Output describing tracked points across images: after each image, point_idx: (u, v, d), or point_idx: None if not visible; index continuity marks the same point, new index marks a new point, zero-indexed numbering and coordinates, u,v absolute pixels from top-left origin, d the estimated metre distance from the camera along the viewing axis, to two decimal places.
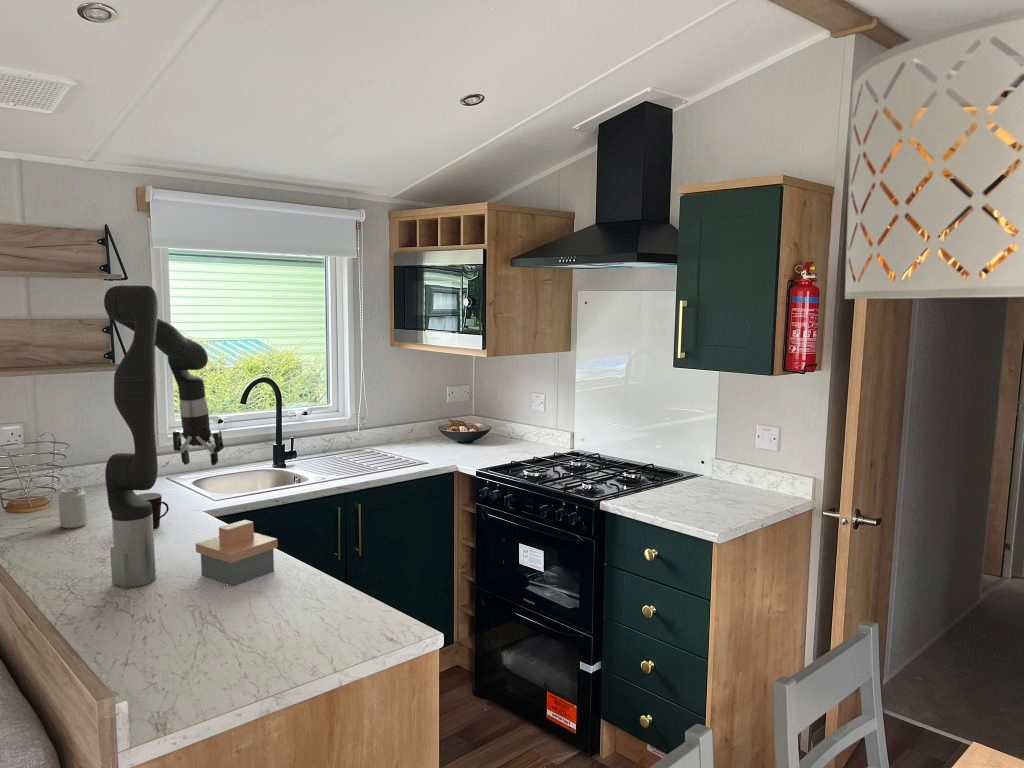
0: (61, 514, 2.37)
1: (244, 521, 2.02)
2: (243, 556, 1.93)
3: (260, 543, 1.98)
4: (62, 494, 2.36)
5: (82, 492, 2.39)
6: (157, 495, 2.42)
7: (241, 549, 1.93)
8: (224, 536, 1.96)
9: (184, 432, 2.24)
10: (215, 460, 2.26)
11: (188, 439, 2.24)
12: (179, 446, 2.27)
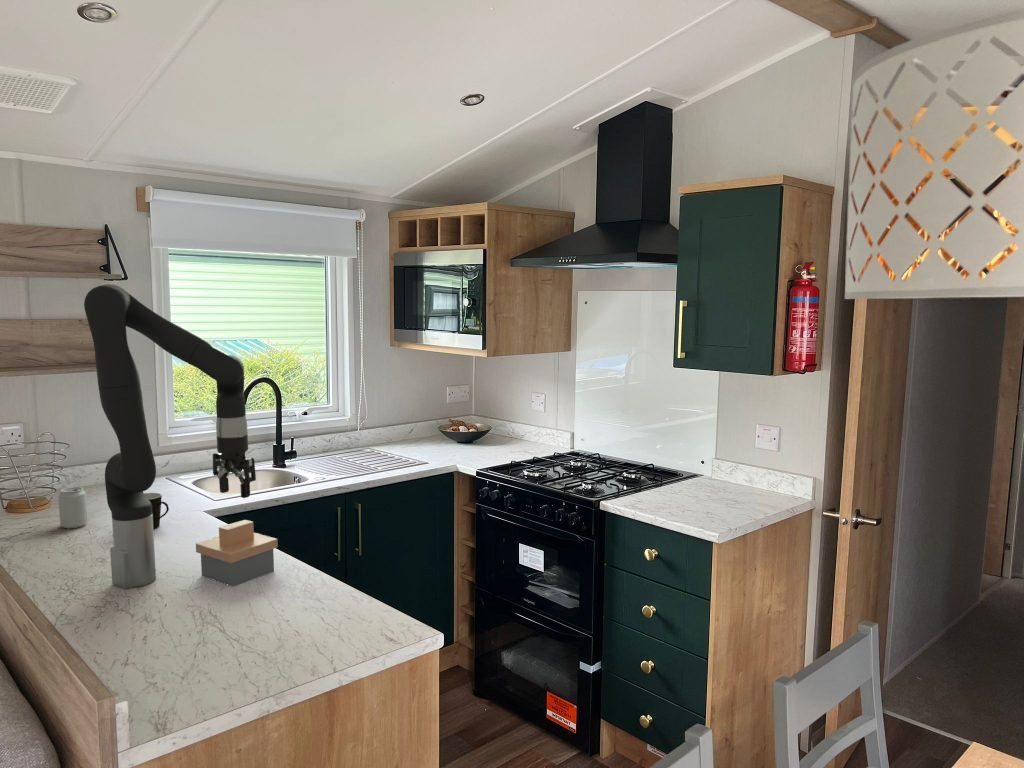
0: (61, 514, 2.37)
1: (244, 521, 2.02)
2: (243, 556, 1.93)
3: (260, 543, 1.98)
4: (62, 494, 2.36)
5: (82, 492, 2.39)
6: (157, 495, 2.42)
7: (241, 549, 1.93)
8: (224, 536, 1.96)
9: (221, 455, 1.98)
10: (245, 492, 1.95)
11: (222, 463, 1.96)
12: None
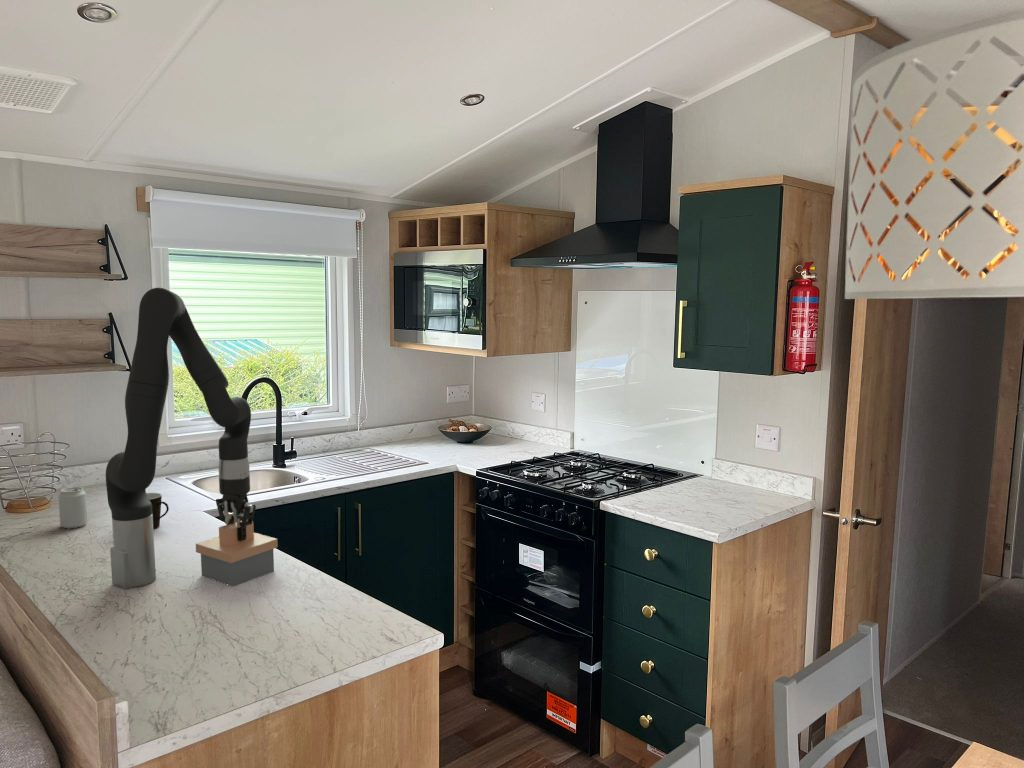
0: (61, 514, 2.37)
1: None
2: (243, 556, 1.93)
3: (260, 543, 1.98)
4: (62, 494, 2.36)
5: (82, 492, 2.39)
6: (157, 495, 2.42)
7: (241, 549, 1.93)
8: (224, 536, 1.96)
9: (223, 496, 1.99)
10: (241, 535, 1.97)
11: (225, 505, 1.98)
12: None
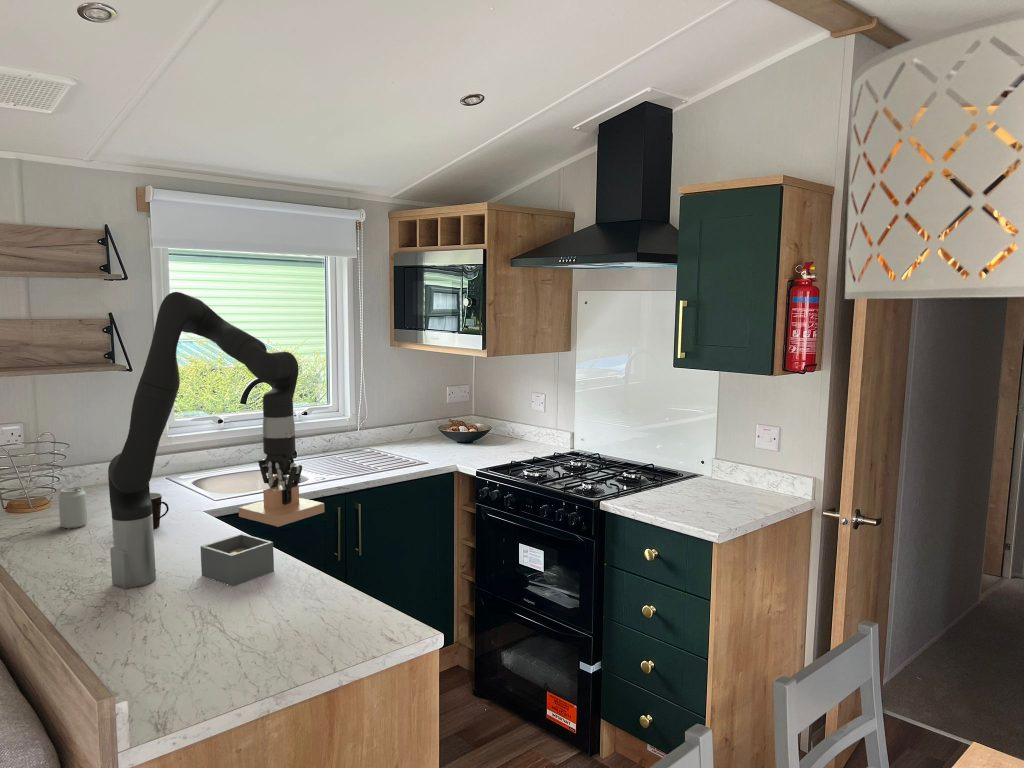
0: (61, 514, 2.37)
1: None
2: (290, 520, 1.82)
3: (307, 507, 1.87)
4: (62, 494, 2.36)
5: (82, 492, 2.39)
6: (157, 495, 2.42)
7: (288, 512, 1.82)
8: (269, 499, 1.85)
9: (266, 457, 1.88)
10: (286, 498, 1.86)
11: (269, 466, 1.86)
12: None
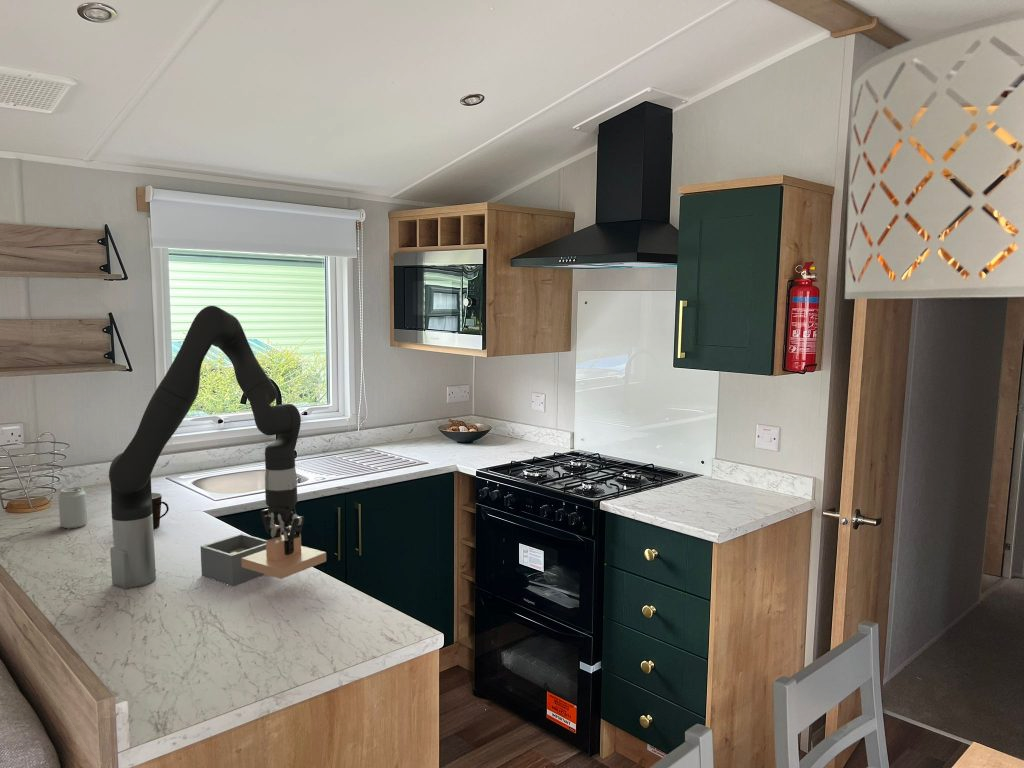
0: (61, 514, 2.37)
1: None
2: (292, 571, 1.84)
3: (309, 557, 1.89)
4: (62, 494, 2.36)
5: (82, 492, 2.39)
6: (157, 495, 2.42)
7: (290, 564, 1.84)
8: (271, 550, 1.86)
9: (269, 507, 1.90)
10: (289, 549, 1.88)
11: (272, 517, 1.88)
12: None
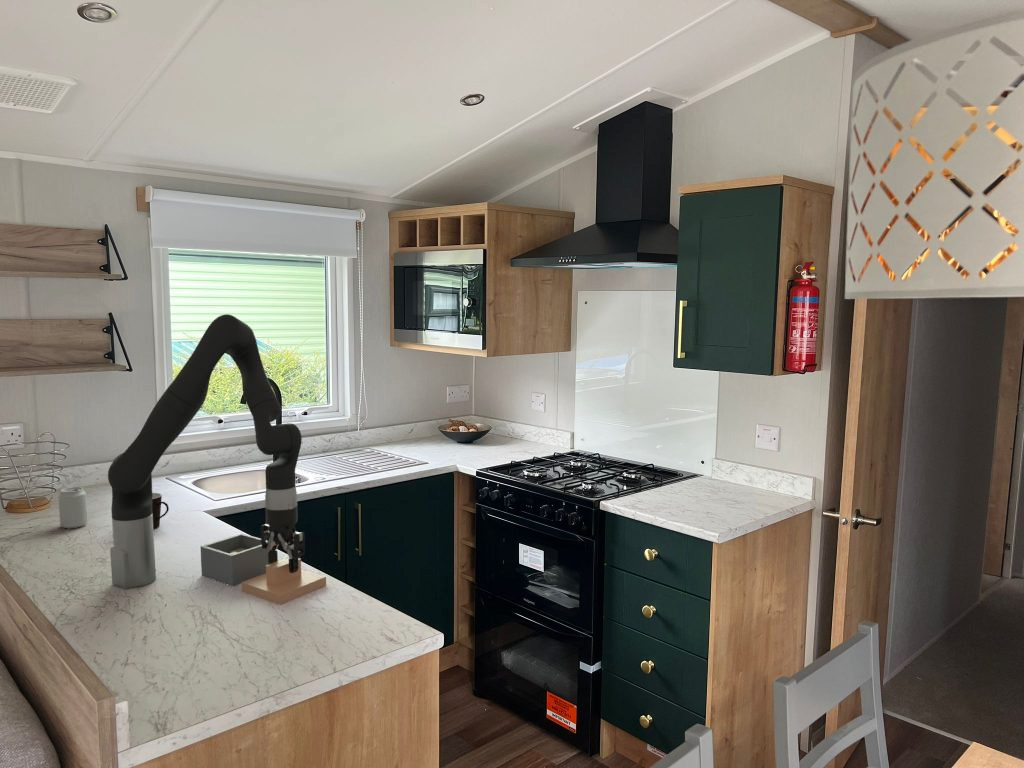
0: (61, 514, 2.37)
1: None
2: (292, 596, 1.84)
3: (309, 582, 1.89)
4: (62, 494, 2.36)
5: (82, 492, 2.39)
6: (157, 495, 2.42)
7: (290, 589, 1.84)
8: (271, 575, 1.87)
9: (269, 526, 1.90)
10: (293, 567, 1.87)
11: (271, 536, 1.89)
12: (268, 543, 1.92)
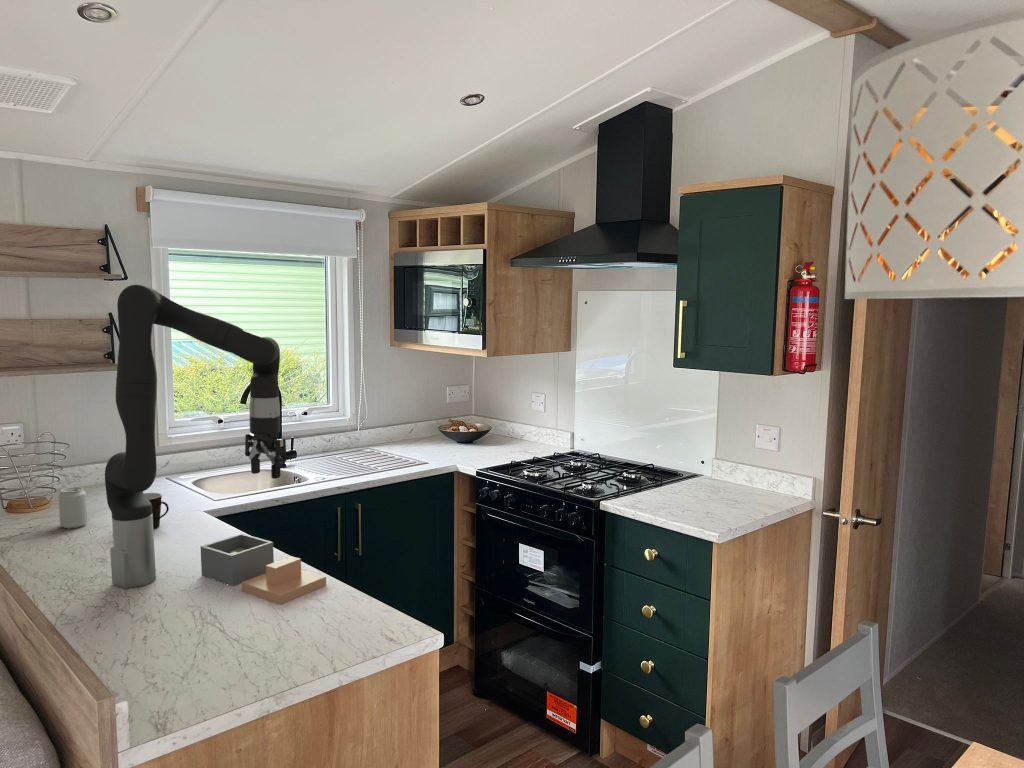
0: (61, 514, 2.37)
1: (291, 558, 1.93)
2: (292, 596, 1.84)
3: (309, 582, 1.89)
4: (62, 494, 2.36)
5: (82, 492, 2.39)
6: (157, 495, 2.42)
7: (290, 589, 1.84)
8: (271, 575, 1.87)
9: (254, 436, 1.99)
10: (275, 473, 1.96)
11: (254, 444, 1.98)
12: None
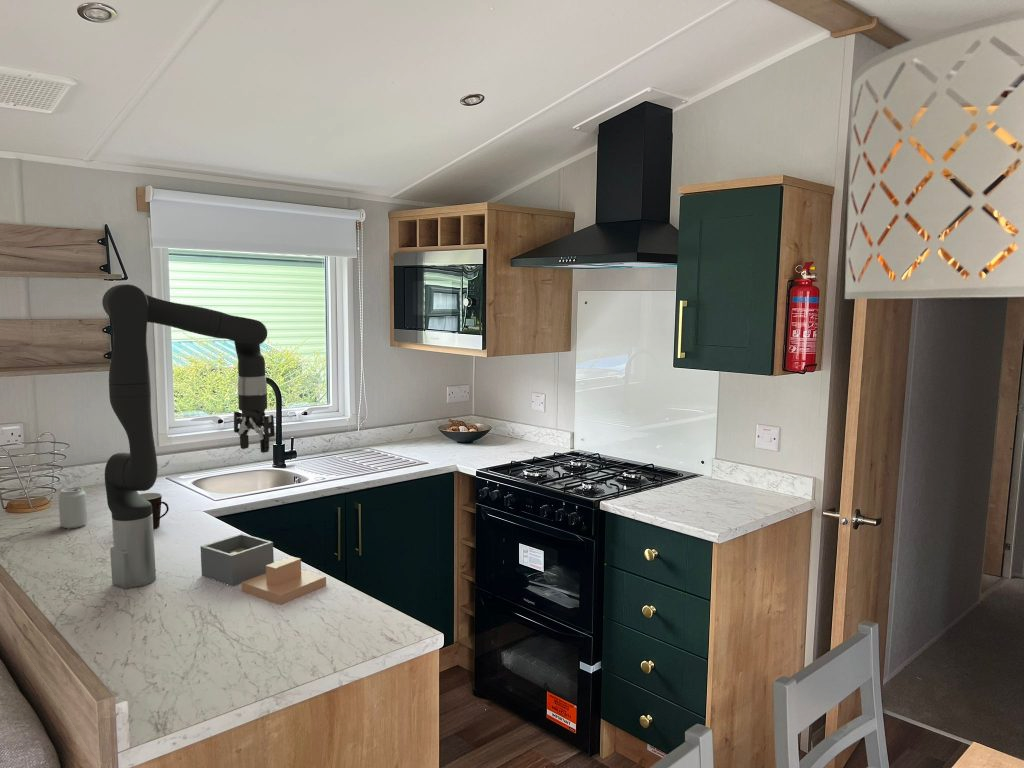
0: (61, 514, 2.37)
1: (291, 558, 1.93)
2: (292, 596, 1.84)
3: (309, 582, 1.89)
4: (62, 494, 2.36)
5: (82, 492, 2.39)
6: (157, 495, 2.42)
7: (290, 589, 1.84)
8: (271, 575, 1.87)
9: (242, 413, 2.10)
10: (264, 447, 2.07)
11: (243, 420, 2.09)
12: (240, 428, 2.13)
